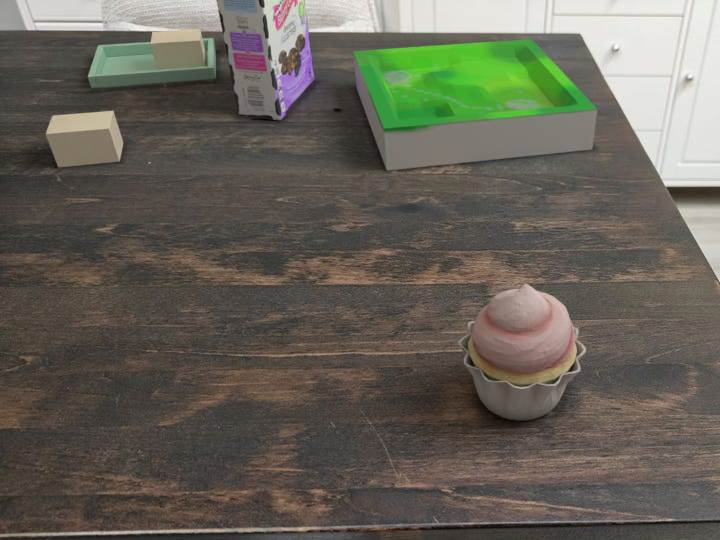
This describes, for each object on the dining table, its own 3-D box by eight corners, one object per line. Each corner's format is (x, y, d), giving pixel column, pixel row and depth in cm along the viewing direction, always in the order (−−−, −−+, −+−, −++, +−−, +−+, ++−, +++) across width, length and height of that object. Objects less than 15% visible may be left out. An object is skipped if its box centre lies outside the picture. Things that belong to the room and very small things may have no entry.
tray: (528, 74, 108) (531, 39, 104) (592, 149, 90) (597, 109, 86) (356, 88, 102) (353, 51, 99) (386, 170, 84) (384, 128, 81)
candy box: (281, 122, 94) (258, -20, 83) (237, 118, 94) (208, -24, 84) (317, 82, 104) (300, -50, 93) (276, 78, 105) (255, -52, 94)
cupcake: (577, 356, 61) (591, 252, 54) (581, 440, 54) (598, 332, 47) (463, 350, 61) (463, 245, 54) (452, 433, 54) (451, 324, 47)
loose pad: (58, 167, 83) (45, 133, 81) (64, 148, 87) (52, 115, 84) (119, 161, 85) (109, 128, 82) (123, 143, 88) (113, 110, 86)
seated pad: (157, 72, 104) (150, 43, 101) (159, 60, 107) (152, 31, 105) (206, 69, 105) (200, 40, 103) (206, 57, 109) (200, 28, 106)
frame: (92, 92, 100) (87, 76, 98) (102, 59, 109) (97, 45, 107) (217, 82, 103) (213, 67, 102) (216, 52, 112) (213, 37, 111)
